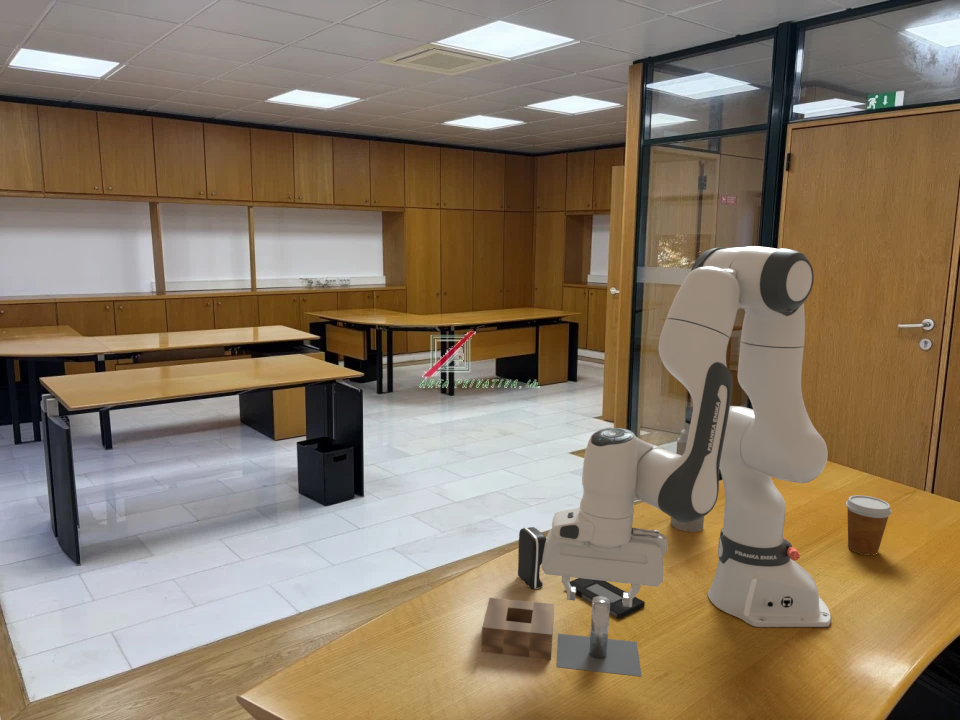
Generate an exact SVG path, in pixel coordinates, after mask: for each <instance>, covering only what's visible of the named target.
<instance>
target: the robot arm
mask: <svg viewBox="0 0 960 720" xmlns="http://www.w3.org/2000/svg"><path fill="white" fill-rule="evenodd" d="M814 276H815V275H814V270H813V266H812V264H811V262H810V261H809V258H808V257H807V255H805V254H804V253H802V252H801V251H800V252H799V251H798V250H794V249H789V248H785V247H783V248H774V247H767V246H758V245H754V246H753V245H750V246H742V247H741V246H740V247H723V246H721V247H714V248H711V249H708V250H707V249H706V250H705V251H703V252H702V253H701V254H700V255H699V256H698V257H697V258H696V259H695V261H694V263H693V265H692V266H691V270H690V272H689V273H688V274H687V275H686V277H685V278H684V280H683V282H682V283H681V285H680V287H679V289H678V291H677V292H676V295H675V297H674V299H673V301H672V303H671V305H670V308H669V310H668V312H667V315H666V318H665V321H664V324H663V326H662V330H661V332H660V337H659V340H658V354H659V355H658V356H659V357H660V361H661V362H662V364H663V366H664V368H666V370H667V371H668V372H669V373H670V375H671V376H673V377H674V378H675V379H676V380H677V381H679V382H680V383H681V384H682V385H683V386H684V388H685V389H686V390H687V391H688V394H690V397H691V400H692V413H691V417H692V418H691V417H690V418H691V424H690V429H689V434H688V439H687V445H686V449H685V452H684V454H683V455H682V456H681V455H679V454H676V452H673V451H670V450H668V449H666V448H664V447H660V446H658V445H655V444H654V443H653V444H652V443H651V442H647V441H644V440H642V439H641V438H639V437H637V436H636V434H635V433H634V432H633V431H632V430H630V429H627V428H621V427H607V428H603V429H599V430H597V431H596V432H594V433H593V434H591V435H590V437H589V440H588V442H587V444H586V447H585V452H584V457H583V463H582V465H583V466H582V473H581V474H582V476H581V485H582V490H583V491H582V492H583V493H582V498H581V499H580V503H579V507H575V508H570V509H565V510H560V511H557V512H555V513H554V515H553V517H552V522H551V523H552V524H551V528H550V529H549V531H548V533H547V535H546V542H545V546H544V552H543V558H542V564H541V570H542V571H543V573H544V574H545V575H549V576H557V577H561V583H562V585H563V587H564V589H565V592H566V600H567V601H576V596H577V595H576V587H571V585H570V583H569V582H570V581H571V578H575V579H577V578H583V579H592V580H601V581H606V582H609V583H610V582H611V583H619V584H628V585H629V584H630V585H631V588H630V589H629V591H628V592H627V593H623V599H622V604H623V606H625V607H632V598H634V597H636V596H637V594H638V593H639V592H640V591H641V586H647V587H659V586H660V585H662V583H663V582H664V557H665V555H666V553H667V551H668V544H669V542H668V541H669V540H668V538H667V537H666V535H664V534H663V533H660V531H659V530H655V529H651V530H650V529H644V528H637V527H633V522H634V511H635V510H634V503H635V502H636V501H641V502H644V503H645V504H648V505H650V506H652V507H654V508H656V509H658V510H660V511H661V512H663V513H664V514H666V515H667V516H669V517H670V518H671V517H672V518H674V519H675V520H677V521H679V522H682V523H688V522H692V521H695V520H698V519H700V518H702V517H703V516H704V517H705V516H706V515H707V514H710V512H711V511H713V509H714V507H715V505H716V503H717V501H718V497H719V492H720V491H719V490H720V489H719V487H720V475H721V479H722V482H723V487H724V488H723V489H724V511H723V513H724V514H723V524H722V525H723V527H722V529H721V530H720V533H719V534H720V535H719V538H718V545H717V555H718V556H717V557H718V562H717V567H716V571H715V574H714V578H713V581H712V583H711V585H710V588H709V590H708V593H707V596H708V598H709V600H710V601H711V603H712V604H713V605H714V606H715V607H716V608H718V609H719V610H721V611H723V612H725V613H727V614H729V615H731V616H734V617H736V618H739V619H741V620H743V622H745V623H746V624H748V625H750V626H753V627H755V628H795V627H796V628H806V627H807V628H812V627H814V628H819V627H820V628H826V627H827V628H828V627H829V626H830V624H831V621H832V620H831V619H832V616H831V612H830V610H829V607H828V605H827V604H826V602H824V600H823V599H822V598H821V597H820V596H819V595H820V594H819V590H818V587H817V584H816V582H815V580H814V579H813V577H812V575H810V573H809V572H808V571H807V570H806V569H804V568H803V567H802V566H801V565H800V564H798V562H796V561H799V560H800V559H801V558H800V557H801V553H800V551H799V550H798V549H797V548H796V547H793V545H792V543H791V542H790V541H788V540H787V539H786V537H784V530H785V529H784V528H785V520H786V511H787V505H786V502H785V499H784V497H783V495H782V494H781V492H780V491H779V489H778V488H777V487H776V485H775V483H774V481H773V479H772V478H774V479H777V480H780V481H785V482H786V481H787V482H790V483H797V484H798V483H799V484H807V483H811V482H812V481H814V480H815V479H817V478H818V477H819V476H820V474H821V473H822V472H823V471H824V469H825V467H826V465H827V462H828V455H829V453H828V452H829V451H828V447H827V443H826V441H825V439H824V438H823V437H822V436H821V434H820V433H819V432H818V431H817V429H816V428H815V426H814V423H812V421H811V419H810V417H809V416H810V415H809V414H808V411H807V409H806V405H805V402H804V398H803V391H802V371H803V358H804V347H805V339H806V337H805V335H806V317H805V315H806V314H805V302H806V301H807V299H808V297H810V294H811V292H812V289H813V285H814V279H815V278H814ZM739 309H743V310H744V312H745V313H744V318H743V320H742V321H743V323H742V328H741V333H740V345H739V356H738V366H737V381H738V384H739V385H740V387H741V389H742V390H743V391H744V392H745V394H746V395H747V397H748V399H749V400H750V403H751V407H752V408H749V407H745V406H739V405H738V406H737V405H731V402H732V395H733V394H732V393H733V386H734V385H733V383H734V382H733V375H732V372H731V370H730V369H729V368H728V366H727V351H728V345H729V341H730V338H731V335H732V333H733V330H734V325H735V322H736V317H737V314H738V310H739Z"/></svg>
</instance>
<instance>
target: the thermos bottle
mask: <svg viewBox="0 0 960 720" xmlns="http://www.w3.org/2000/svg"><path fill="white" fill-rule="evenodd" d="M691 418H692V416H691V417H686V418H685V424H684V428H683V429H681V431H680V434H679V436H680V437H678V438H677V440H676V441H677V442H676V452H675V453H676V454H679V455H681V456H682V455H683V454H684V452H685V449H686V445H687V439H688V434H689V429H690V424H691ZM704 520H705V516H703V517H702V518H700V519H698V520H695V521H692V522H688V523H682V522H679V521H677V520H675V519H674V518H672V517H670V526H671V527H672V528H674V527H675V528H674V529H676V530H679V531H682V530H683V532H688V531H689V532H690V533H695V532H696V533H697V532H700V531H702V530H703V529H704V522H705V521H704Z"/></svg>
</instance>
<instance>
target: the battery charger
mask: <svg viewBox="0 0 960 720" xmlns="http://www.w3.org/2000/svg"><path fill="white" fill-rule="evenodd" d="M546 538H547V536H546V535H544V534H543V533H542V532H541V531H540V530H539V529H537V528H536V527H534V526H532V527H522V528H521V529H520V530H519V533H518V555H517V556H518V559H517V560H518V563H517V576H518V578H520V580H521V581H522V582H523V583H524V584H525V585H526V586H527V587H529V588H530V589H531V590H536V589H540V588H542V587H543V585H544V583H543V581H542V580H541V579H540V572H541V571H540V569H541V566H542V558H543V552H544V546H545V542H546Z"/></svg>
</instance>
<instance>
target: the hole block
mask: <svg viewBox="0 0 960 720" xmlns="http://www.w3.org/2000/svg"><path fill="white" fill-rule="evenodd" d="M554 619H555V604H554V603H547V602H546V603H545V602H536V601H526V600H516V599H507V598H497V597H496V598H495V597H488V603H487V606H486V611H485V615H484V619H483V623H482V626H481V653H487V654H488V653H490V654H497V655H507V656H518V657H525V658H526V657H527V658H534V659H535V658H536V659H544V660H551V659H552V651H553V648H552V647H553V638H554V637H553V635H554V633H553V632H554Z"/></svg>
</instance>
